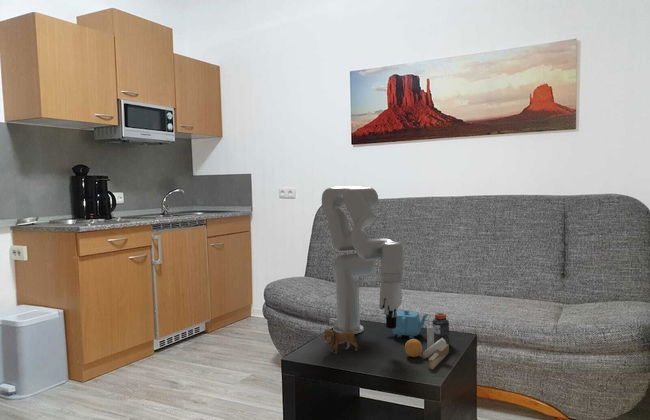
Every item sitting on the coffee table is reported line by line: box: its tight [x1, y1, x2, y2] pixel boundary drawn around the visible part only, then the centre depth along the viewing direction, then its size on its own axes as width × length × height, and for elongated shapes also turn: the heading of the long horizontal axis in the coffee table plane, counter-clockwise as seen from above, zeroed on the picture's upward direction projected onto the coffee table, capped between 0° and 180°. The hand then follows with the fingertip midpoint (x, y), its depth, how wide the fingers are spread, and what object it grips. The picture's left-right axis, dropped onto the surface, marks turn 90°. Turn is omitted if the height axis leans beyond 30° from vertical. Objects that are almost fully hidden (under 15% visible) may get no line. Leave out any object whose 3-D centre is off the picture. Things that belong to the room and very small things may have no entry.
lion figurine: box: [322, 328, 360, 355], centre depth 171 cm, size 15×5×9 cm, turn 118°
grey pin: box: [426, 325, 434, 349], centre depth 169 cm, size 2×2×8 cm
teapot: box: [384, 309, 430, 339], centre depth 188 cm, size 18×14×10 cm
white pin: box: [422, 338, 446, 359], centre depth 161 cm, size 2×2×8 cm
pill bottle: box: [432, 312, 450, 345], centre depth 177 cm, size 6×6×11 cm
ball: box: [404, 338, 423, 358], centre depth 164 cm, size 6×6×6 cm
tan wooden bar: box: [427, 343, 450, 370], centre depth 160 cm, size 2×18×3 cm, turn 149°
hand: (391, 327), depth 169 cm, fingers closed
